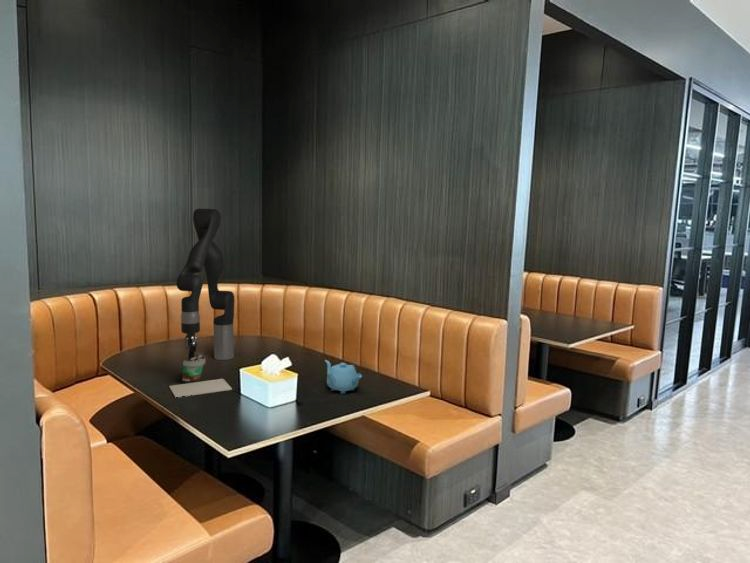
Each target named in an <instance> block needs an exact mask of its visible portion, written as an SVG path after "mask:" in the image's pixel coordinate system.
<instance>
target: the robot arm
mask: <svg viewBox="0 0 750 563" xmlns="http://www.w3.org/2000/svg"><path fill="white" fill-rule="evenodd" d="M192 219H193V220H192V222H193V225H194V229H195V232H196V236H197V238H198V241H197V242H196V243H195V244H194V245H193V246H192V247H191V249H190V251H189V254H188V257H187V259H186V263H185V265H184V267H183V269H182V270H181V271H180V273H179V275H177V276H178V277H177V278H176V287H177V289H178V290H179V291H181V292H191V293H190V294H189V296H184V297H183V298H182V297H181V298H182V299H181V301H180V302H181V315H180V321H181V322H180V324H181V325H180V326H181V333H182V334H186V336H185V337H184V340H185V346H186V350H187V354H188V356H187V358H188V359H187V360H189V359H190V358H191V357H194V356H195V352H196V350H197V344H198V343H197V336H196V333H199V332H201V331H200V330H201V329H200V328H201V324H200V323H201V322H200V318H201V316H200V305H199V304H200V297H201V292H202V289H203V286H204V285H203V284H204V283H203V279H202V277H201V276H200V275H198V274H197V273H200V272H202V271H203V269H204V273H205V277H206V282H207V290H208V291H207V292H208V300H209V305H210V307H211V308H212V309H213V310H217V311H218V310H220V311H224V312H223V314H221V315H218V316H216V317H214V318H213V347H214V348H213V353H214V354H213V356H214V359H215V360H217V361H228V360H232V359H234V358H235V354H234V352H235V350H234V348H235V347H234V343H235V342H234V337H235V336H234V318H235V317H234V316H235V294H234V292H233V291H231V290H219V286H218V282H219V280H220V278H221V276H222V274H223V272H224V270H225V265H226V264H225V260H224V259H225V258H224V255H223V252H222V250H221V249H220V247H219V246H218V245H217V243H215V242H214V240H215V238H216V235H217V233H218V230H219V228H220V226H221V222H222V216H221V212H220V211H219V210H218V209H216V208H196V209H195V210H194V211H193V215H192Z"/></svg>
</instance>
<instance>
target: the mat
mask: <svg viewBox="0 0 750 563" xmlns="http://www.w3.org/2000/svg"><path fill="white" fill-rule="evenodd" d="M168 387H169V389H170V391H171V393H172V394H173V396H174V398H176V397H178V398H183V397H182V396H185V397H190V396H191V395H192V396H196V395H204V394H212V393H218V392H224V391H231V390H233V388H232V387H231V385H229V383H228V382H227V381H226V380H225V379H224V378H218V379H210V380H203V381H198V382H194V383H182V384H173V385H169V386H168Z"/></svg>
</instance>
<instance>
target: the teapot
mask: <svg viewBox="0 0 750 563" xmlns="http://www.w3.org/2000/svg"><path fill="white" fill-rule="evenodd" d="M324 362H325V363H326V366H327V368H326V372H327V374H326V375H327V376H326V384H327V386H328V387H329V388H330V391H333V392H335V391H340V392H339V393H340V394H341V395H346V392H348V391H355V389H356V388H357V387H358V385H359V380H360V379H361V378H362V377H363V375H362V374H361V373H360V372H359V373H357V371H356V367H355V365H354V364H347V363H345V362H339V363H338V364H335V365H332V364H331V362H330V361H329V360H327V359H324Z"/></svg>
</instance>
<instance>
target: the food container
mask: <svg viewBox="0 0 750 563" xmlns="http://www.w3.org/2000/svg"><path fill="white" fill-rule="evenodd" d="M205 364H206V357H205V355H204V354H203V353H201V352H197V354H195V355H194V357H191V358H190V359H189V360H188V359H187V360H185V359H184V360H183V363H182V366H183V367H182V382H183V383H185V384H187V383H195V382H200V381H201V377H202V372H203V368H204V365H205Z"/></svg>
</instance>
